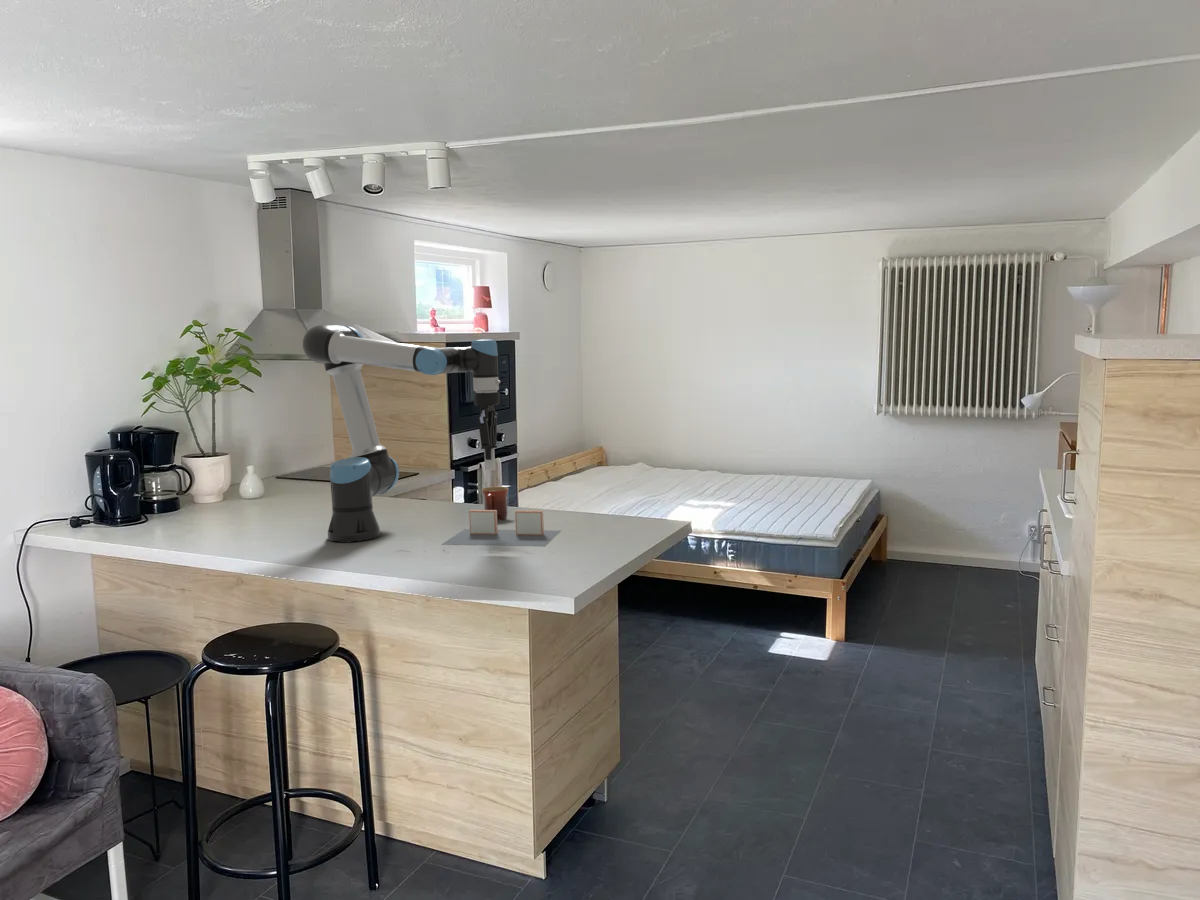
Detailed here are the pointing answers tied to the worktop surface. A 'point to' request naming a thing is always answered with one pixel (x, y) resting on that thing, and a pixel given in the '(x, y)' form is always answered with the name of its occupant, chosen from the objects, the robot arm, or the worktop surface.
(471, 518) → the tile
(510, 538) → the mat
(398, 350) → the robot arm
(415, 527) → the worktop surface
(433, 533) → the worktop surface
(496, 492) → the mug
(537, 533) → the tile
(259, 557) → the worktop surface
